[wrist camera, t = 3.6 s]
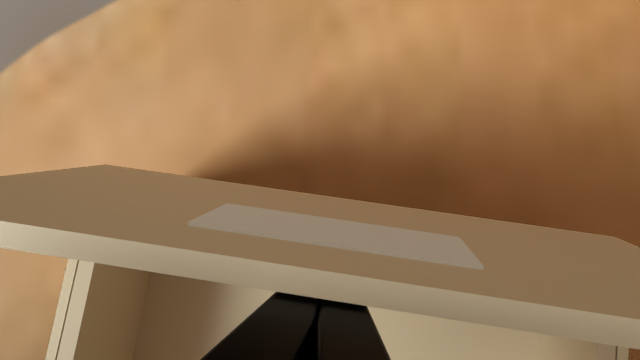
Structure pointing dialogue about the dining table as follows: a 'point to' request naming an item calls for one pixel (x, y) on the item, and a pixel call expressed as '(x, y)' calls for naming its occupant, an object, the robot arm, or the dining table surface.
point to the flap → (331, 249)
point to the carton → (236, 305)
